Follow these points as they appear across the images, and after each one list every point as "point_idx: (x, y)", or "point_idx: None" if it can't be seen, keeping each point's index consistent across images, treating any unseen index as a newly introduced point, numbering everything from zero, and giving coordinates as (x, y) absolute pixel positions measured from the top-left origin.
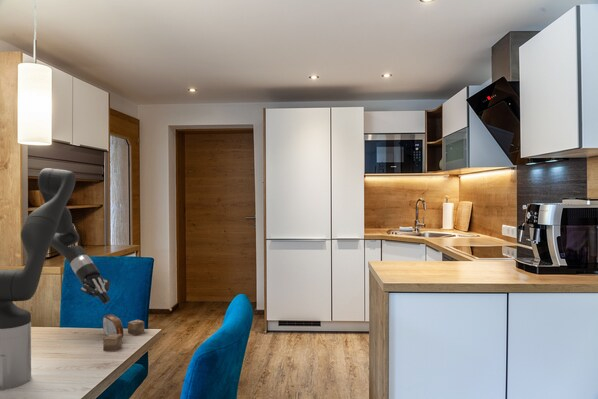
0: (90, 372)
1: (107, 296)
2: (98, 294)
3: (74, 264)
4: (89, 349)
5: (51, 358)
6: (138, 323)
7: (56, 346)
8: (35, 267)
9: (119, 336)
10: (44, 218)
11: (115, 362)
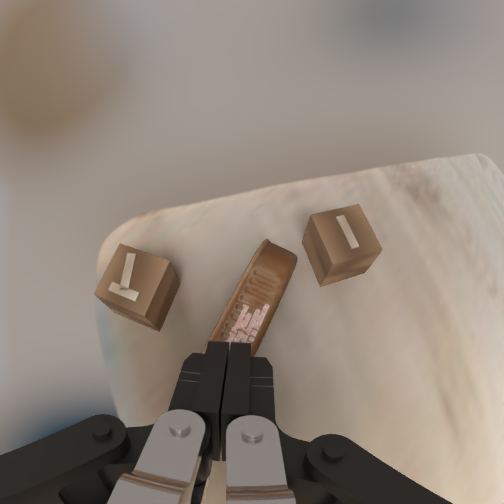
0: (458, 195)
1: (206, 367)
2: (290, 443)
3: None
4: (380, 333)
5: (478, 377)
6: (146, 253)
7: None
8: None
9: (330, 211)
10: None
11: (397, 177)
